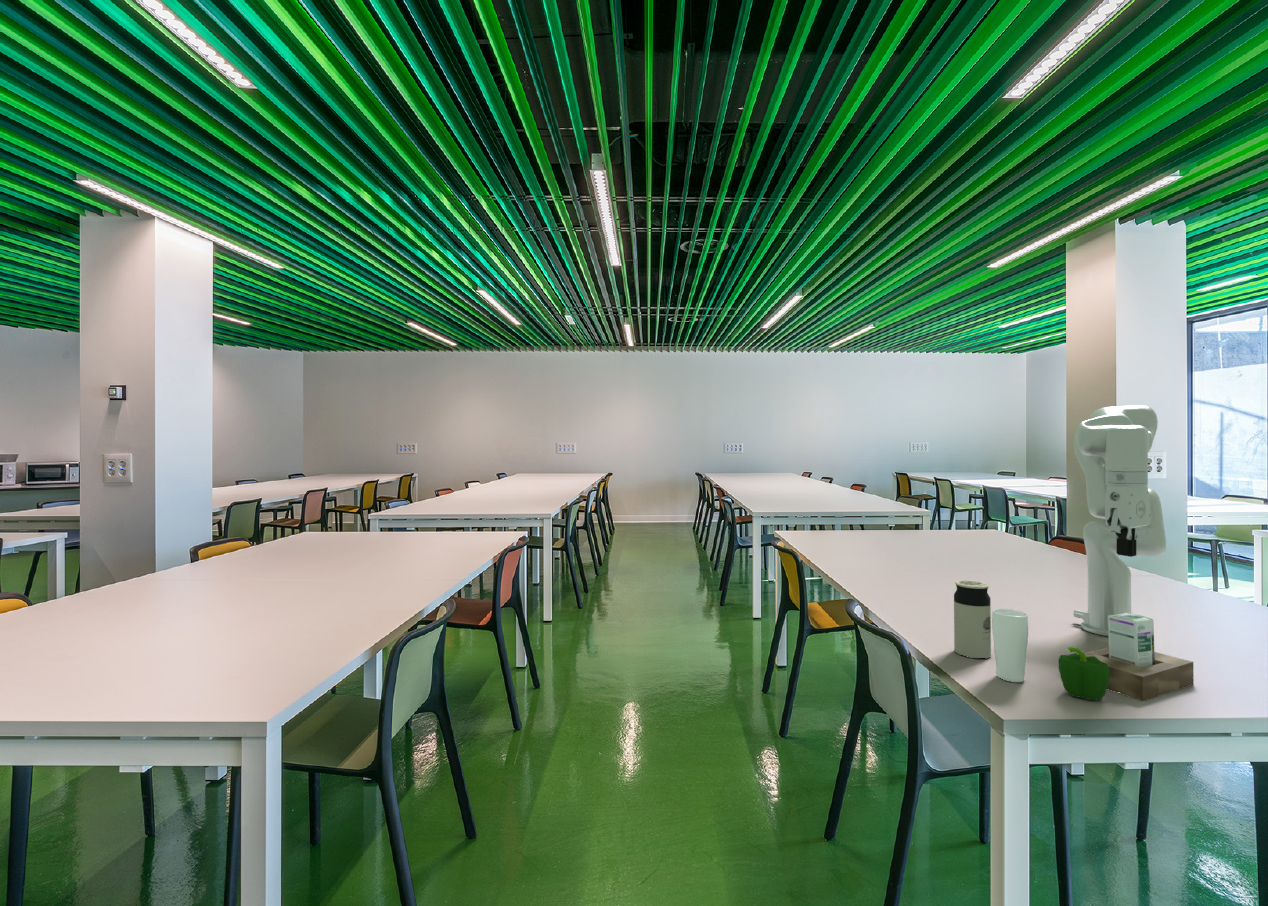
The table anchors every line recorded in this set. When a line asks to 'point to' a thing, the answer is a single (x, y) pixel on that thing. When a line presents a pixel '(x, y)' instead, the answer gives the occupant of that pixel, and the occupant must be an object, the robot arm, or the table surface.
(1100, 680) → the bell pepper
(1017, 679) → the drinking glass
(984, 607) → the travel mug
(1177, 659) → the walnut socket block
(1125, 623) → the syrup box
